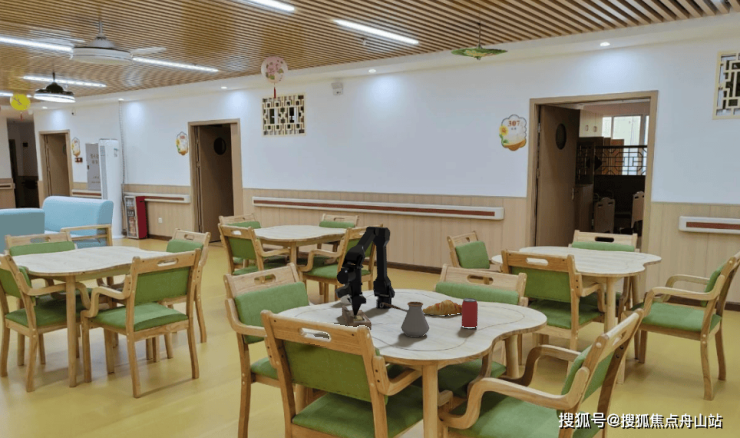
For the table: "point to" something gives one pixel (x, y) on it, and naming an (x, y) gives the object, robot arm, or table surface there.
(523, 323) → the table surface
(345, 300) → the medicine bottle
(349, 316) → the guide board
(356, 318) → the brass clip block
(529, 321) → the table surface
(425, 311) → the croissant
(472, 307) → the beer can
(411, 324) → the coffee pot
